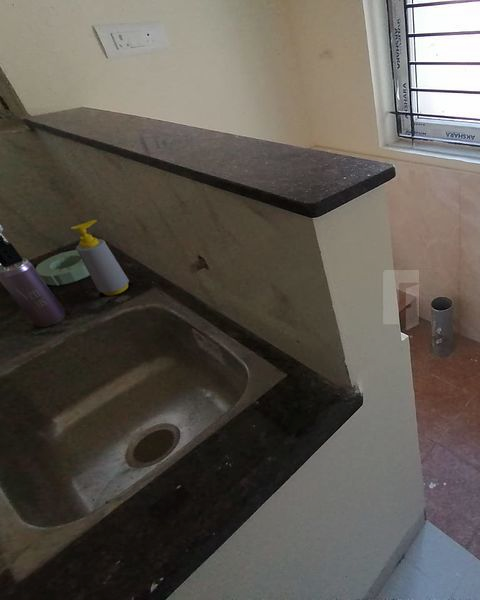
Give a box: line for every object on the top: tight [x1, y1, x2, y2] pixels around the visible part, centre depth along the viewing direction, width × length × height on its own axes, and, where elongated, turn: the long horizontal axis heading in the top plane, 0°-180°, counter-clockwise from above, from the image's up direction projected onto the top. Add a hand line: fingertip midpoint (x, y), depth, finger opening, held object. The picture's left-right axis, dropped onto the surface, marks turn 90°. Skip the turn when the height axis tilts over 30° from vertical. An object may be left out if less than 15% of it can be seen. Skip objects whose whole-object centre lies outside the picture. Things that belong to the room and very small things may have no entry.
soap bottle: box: [70, 219, 130, 296], centre depth 93 cm, size 7×7×18 cm
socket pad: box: [35, 249, 90, 287], centre depth 105 cm, size 13×13×3 cm
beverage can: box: [0, 257, 66, 328], centre depth 85 cm, size 6×6×15 cm
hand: (6, 256), depth 79 cm, fingers open, 9 cm apart
